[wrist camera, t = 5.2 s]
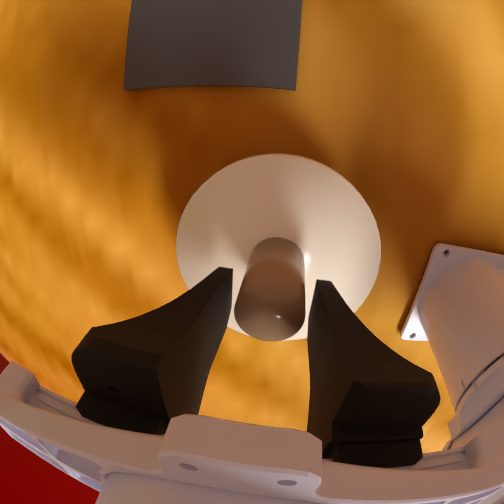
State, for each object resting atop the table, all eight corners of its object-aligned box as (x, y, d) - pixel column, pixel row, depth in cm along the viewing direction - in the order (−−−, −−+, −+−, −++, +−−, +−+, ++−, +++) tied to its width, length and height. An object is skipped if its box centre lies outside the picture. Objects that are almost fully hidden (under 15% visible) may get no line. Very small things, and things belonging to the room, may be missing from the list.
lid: (392, 165, 12) (435, 194, 8) (355, 336, 17) (365, 400, 12) (175, 151, 13) (123, 173, 9) (189, 320, 18) (162, 379, 14)
